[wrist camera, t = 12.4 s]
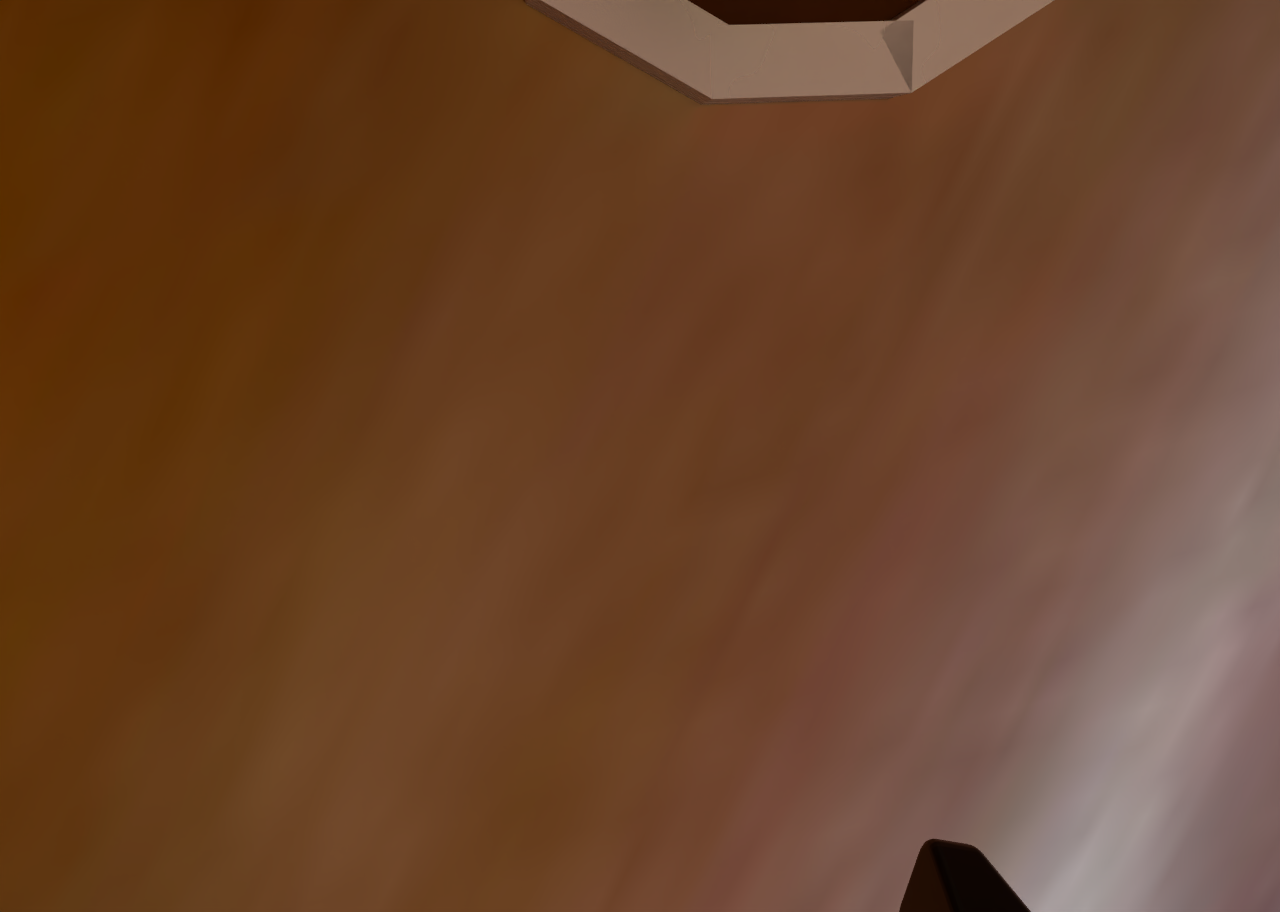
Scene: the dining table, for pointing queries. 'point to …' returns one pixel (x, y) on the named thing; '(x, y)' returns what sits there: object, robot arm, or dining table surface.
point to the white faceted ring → (788, 47)
